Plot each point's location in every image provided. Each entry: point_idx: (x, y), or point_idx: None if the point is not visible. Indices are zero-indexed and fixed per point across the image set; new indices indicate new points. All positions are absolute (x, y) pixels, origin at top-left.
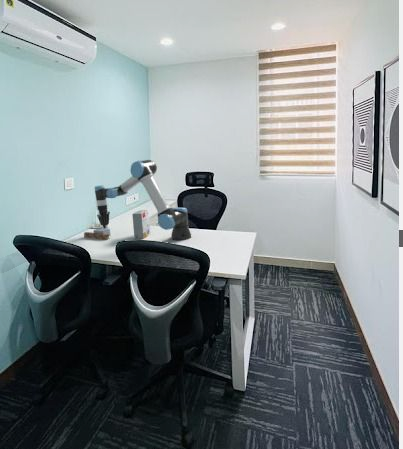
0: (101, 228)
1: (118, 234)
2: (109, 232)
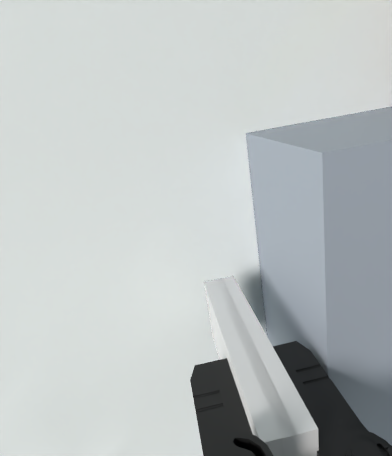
0: (368, 410)
1: (77, 49)
2: (301, 134)
